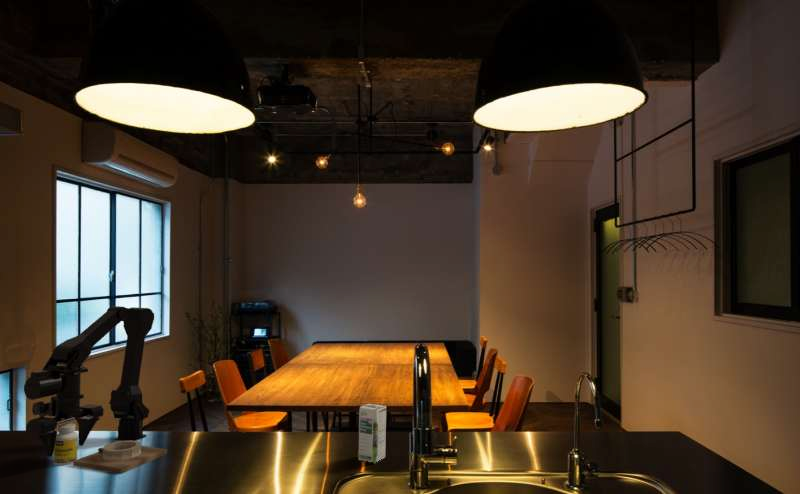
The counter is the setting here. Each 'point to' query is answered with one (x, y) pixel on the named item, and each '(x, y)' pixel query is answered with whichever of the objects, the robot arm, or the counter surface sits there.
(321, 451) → the counter surface
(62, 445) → the supplement bottle
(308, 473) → the counter surface
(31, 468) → the counter surface
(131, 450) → the dock
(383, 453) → the syrup box
